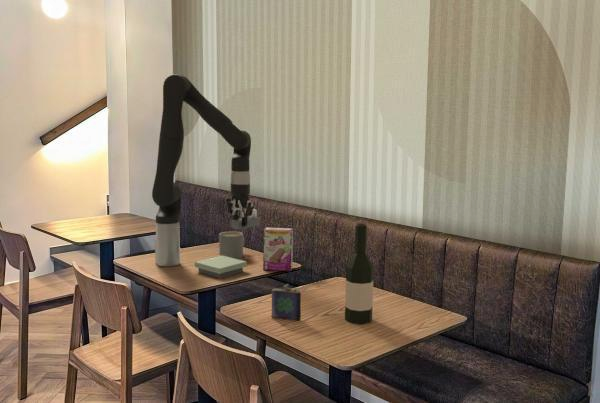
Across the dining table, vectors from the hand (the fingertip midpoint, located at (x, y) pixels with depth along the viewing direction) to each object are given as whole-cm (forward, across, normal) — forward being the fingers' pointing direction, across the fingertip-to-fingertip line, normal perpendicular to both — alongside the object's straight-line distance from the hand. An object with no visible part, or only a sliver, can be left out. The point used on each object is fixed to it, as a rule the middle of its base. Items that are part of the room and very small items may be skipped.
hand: (240, 225), depth 240 cm
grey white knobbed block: (+1, 0, +3) cm, 3 cm away
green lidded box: (+17, -1, -10) cm, 20 cm away
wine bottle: (+17, +69, -18) cm, 73 cm away
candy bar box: (+17, +13, +8) cm, 23 cm away
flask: (+17, +52, -32) cm, 63 cm away
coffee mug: (+17, -15, +11) cm, 25 cm away
